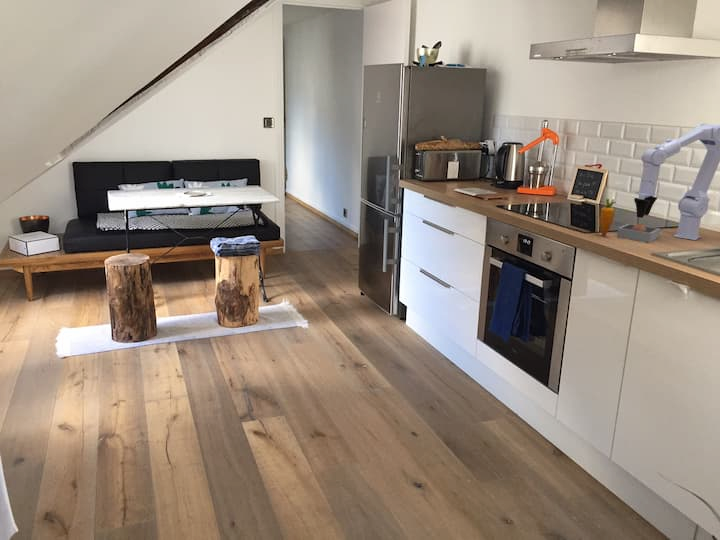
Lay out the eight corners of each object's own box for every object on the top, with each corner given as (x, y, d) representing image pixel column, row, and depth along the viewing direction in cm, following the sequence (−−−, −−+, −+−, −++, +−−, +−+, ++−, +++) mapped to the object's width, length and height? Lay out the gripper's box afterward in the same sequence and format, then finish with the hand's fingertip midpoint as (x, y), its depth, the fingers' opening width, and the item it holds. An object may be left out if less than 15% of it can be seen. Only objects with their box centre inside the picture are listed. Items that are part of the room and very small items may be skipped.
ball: (633, 234, 238) (635, 222, 237) (646, 236, 235) (648, 224, 234) (629, 236, 235) (631, 223, 233) (642, 238, 232) (645, 225, 230)
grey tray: (627, 231, 244) (628, 223, 243) (658, 237, 237) (660, 228, 236) (616, 236, 233) (618, 228, 232) (649, 242, 226) (651, 233, 225)
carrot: (607, 235, 236) (613, 197, 232) (612, 237, 231) (619, 199, 227) (594, 234, 236) (601, 196, 232) (600, 237, 231) (606, 198, 227)
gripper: (643, 178, 237) (637, 212, 241) (632, 181, 226) (626, 216, 230) (662, 180, 233) (655, 215, 236) (652, 183, 222) (645, 219, 225)
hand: (642, 216), depth 233 cm, fingers open, 7 cm apart
